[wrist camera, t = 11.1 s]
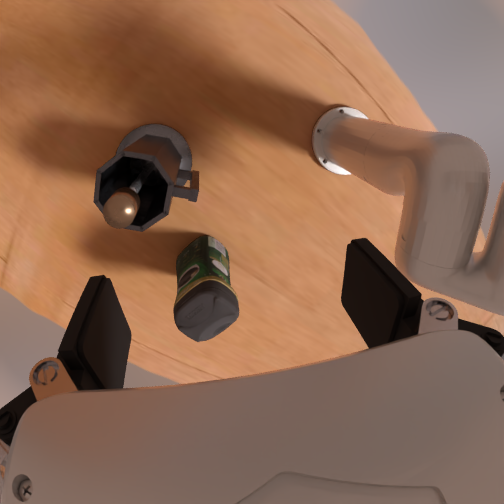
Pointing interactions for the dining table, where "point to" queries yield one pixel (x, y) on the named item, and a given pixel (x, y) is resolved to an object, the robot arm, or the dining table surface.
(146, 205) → the press carafe
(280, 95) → the dining table surface
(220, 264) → the coffee jar
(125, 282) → the dining table surface
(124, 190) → the plunger
